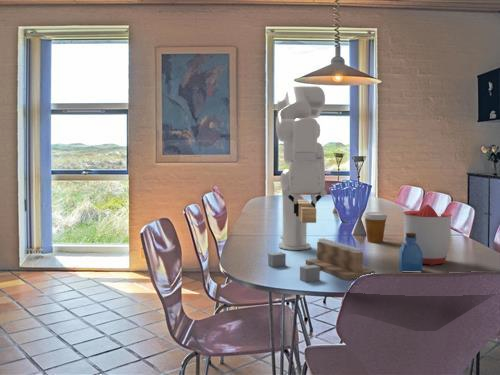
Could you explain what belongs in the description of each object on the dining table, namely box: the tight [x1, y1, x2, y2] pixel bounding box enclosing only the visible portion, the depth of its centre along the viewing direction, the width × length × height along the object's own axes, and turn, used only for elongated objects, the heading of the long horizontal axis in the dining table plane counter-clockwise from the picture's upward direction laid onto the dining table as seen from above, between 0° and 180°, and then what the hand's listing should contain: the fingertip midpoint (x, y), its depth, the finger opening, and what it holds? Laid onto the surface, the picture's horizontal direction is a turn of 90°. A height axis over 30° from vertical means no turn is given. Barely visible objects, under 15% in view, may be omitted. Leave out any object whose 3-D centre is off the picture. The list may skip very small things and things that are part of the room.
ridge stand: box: [305, 238, 376, 281], centre depth 150 cm, size 22×11×8 cm, turn 26°
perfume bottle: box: [398, 233, 423, 272], centre depth 149 cm, size 6×6×12 cm
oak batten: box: [298, 199, 317, 224], centre depth 147 cm, size 26×4×4 cm, turn 179°
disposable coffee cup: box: [363, 211, 388, 244], centre depth 197 cm, size 10×10×12 cm
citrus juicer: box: [403, 204, 453, 266], centre depth 161 cm, size 16×17×20 cm
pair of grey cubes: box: [267, 251, 321, 283], centre depth 147 cm, size 23×5×4 cm, turn 26°
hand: (304, 215), depth 147 cm, fingers closed on oak batten, 4 cm apart
